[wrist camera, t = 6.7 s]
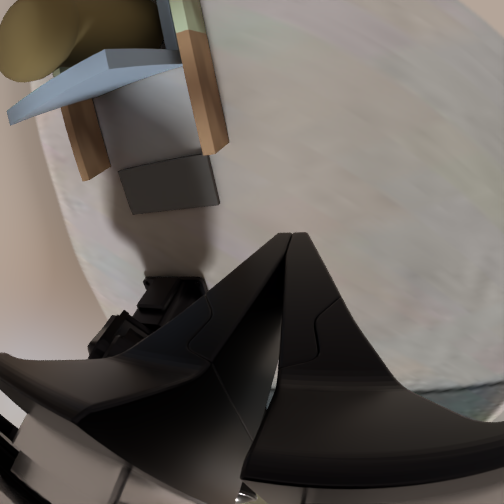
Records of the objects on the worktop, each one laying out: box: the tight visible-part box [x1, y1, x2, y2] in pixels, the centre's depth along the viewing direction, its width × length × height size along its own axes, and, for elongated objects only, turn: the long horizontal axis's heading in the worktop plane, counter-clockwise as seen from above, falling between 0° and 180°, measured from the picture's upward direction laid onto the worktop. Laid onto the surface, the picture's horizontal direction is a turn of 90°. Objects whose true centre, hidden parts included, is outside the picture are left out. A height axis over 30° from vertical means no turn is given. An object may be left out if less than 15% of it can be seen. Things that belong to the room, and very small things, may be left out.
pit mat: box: [118, 154, 220, 215], centre depth 23 cm, size 4×8×1 cm, turn 101°
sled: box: [7, 0, 183, 125], centre depth 13 cm, size 7×8×9 cm
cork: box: [0, 0, 164, 82], centre depth 12 cm, size 6×6×11 cm
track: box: [53, 0, 229, 181], centre depth 17 cm, size 15×11×3 cm
